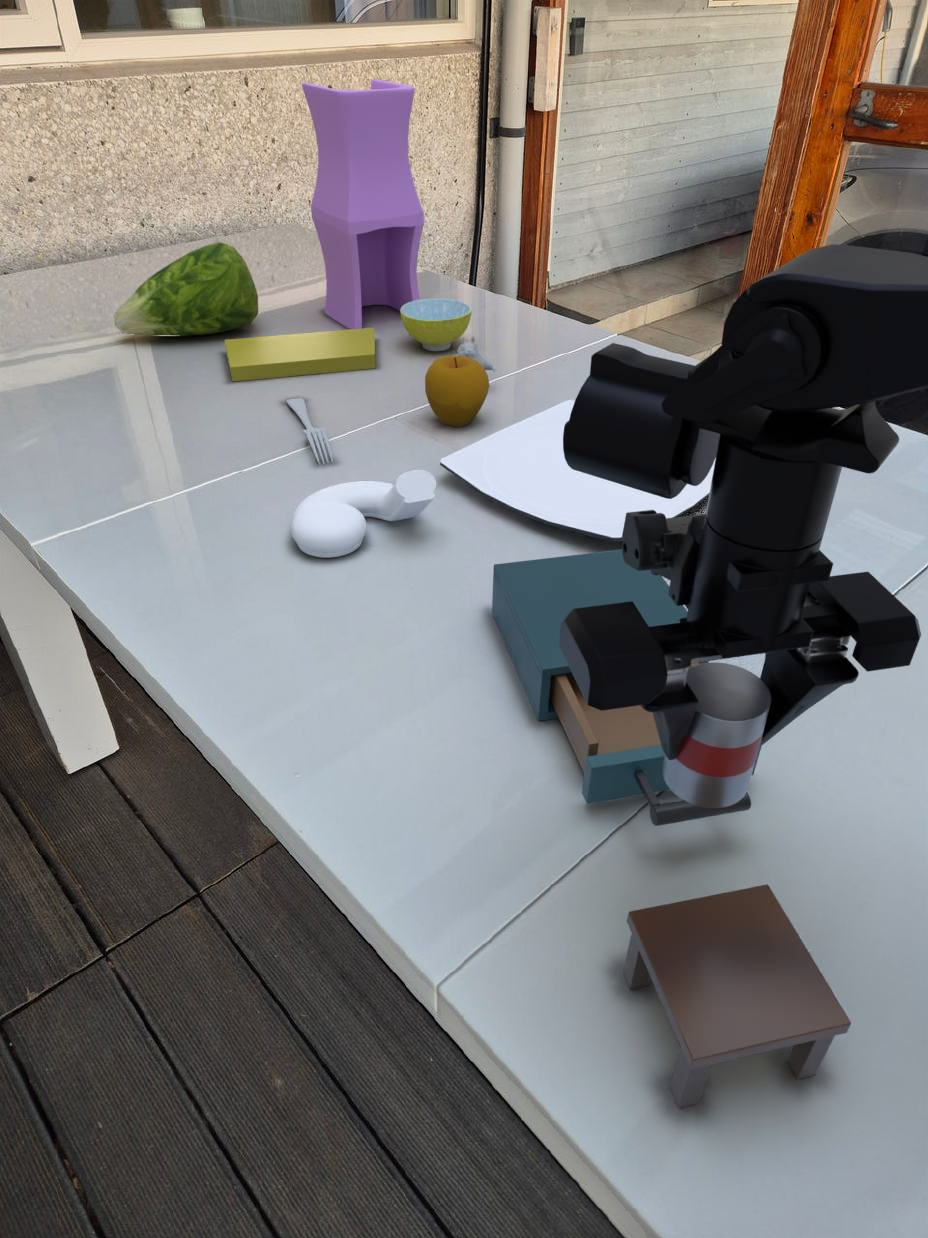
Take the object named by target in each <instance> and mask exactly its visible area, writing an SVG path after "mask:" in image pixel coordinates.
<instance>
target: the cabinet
mask: <svg viewBox="0 0 928 1238" xmlns="http://www.w3.org/2000/svg"><path fill="white" fill-rule="evenodd" d="M492 574H493V575H492V597H491V598H492V599H491V600H492V601H491V605H492V607H491V614H492V616H493V618H494V619H493V620H494V622H495V623H496V626H497V628H498V630H499V632H500V635H501V638H502V639H503V642H504V644H505V647H506V649H507V651H508V653H509V655H510V659H511V661H512V663H513V665H514V667H515V669H516V672H517V674H518V677H519V679H520V681H521V684H522V687H523V689H524V691H525V694H526V695H527V699H528V701H529V703H530V705H531V707H532V710H533V712H534V714H535V717H536V719H537V721H538V722H540V721H547V720H555V719H559V717H558V715H557V713H556V710H555V708H554V706H553V704H552V702H551V699H550V697H549V695H550V684H551V675H557V674H564V673H571V670H570V668H569V666H568V664H567V662H566V659H565V657H564V655H563V653H562V651H561V649H560V647H559V639H560V627H561V622H562V621H563V619H564V618H565V616H566V615H567V613H568V612H569V611H571V610H573V609H575V608H582V607H590V606H598V605H606V604H614V603H622V602H630V601H633V603H634V604H635V606H636V608H637V609H638V611H639V612H640V614H641V615H642V617H643V618H644V620H645V622H646V623H647V625H648V626H649V627H652V626H659V625H667V624H675V623H678V620H679V619H681V618H687V612H688V609H687V608H686V606H685V605H681V606H676V604H675V603H674V602H673V600H672V599H671V597H670V596H669V595H668V593H669V587H670V584H668V582H667V581H666V580H665V578H664V577H663V576H661V575H653V574H652V573H651V570H643V571H638V570H636V569H634V568H633V567H631V566H629V565H627V564H626V563H625V562H624V559H623V555H622V549H615V550H614V549H613V550H607V551H606V550H605V551H597V552H588V553H579V554H572V555H571V554H570V555H563V556H555V557H544V558H539V559H538V558H537V559H529V560H519V561H512V562H504V563H503V562H502V563H494V564H493V573H492ZM703 663H710V661H706V662H699V664H703Z"/></svg>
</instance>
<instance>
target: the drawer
mask: <svg viewBox="0 0 928 1238" xmlns="http://www.w3.org/2000/svg"><path fill="white" fill-rule="evenodd" d="M695 665H699V663H692V664H691V666H690V668H691V667H693V666H695ZM549 697H550V699H551V702H552V704H553V706H554V708H555V710H556V713H557V715H558V717H559V718H558V720H559V721H560V724H561V726H562V728H563V730H564V732H565V735H566V736H567V739H568V742H569V744H570V745H571V749H572V750H573V752H574V755H575V756H576V759H577V761H578V763H579V765H580V767H581V770H582V771H583V782H582V789H581V794H582V796H583V799H584V800H585V803H586V804H587V805H589V804H590V805H591V804H595V803H601V802H606V801H613V800H619V799H624V798H630V797H635V796H641V795H642V796H644V798H645V800H646V802H647V804H648V806H649V818H650V820H651V824H652V825H653V826H654V827H659V826H666V825H670V824H676V823H683V822H688V821H694V820H697V819H704V818H710V817H715V816H716V817H717V816H721V815H727V814H732V813H738V812H745V811H749V810H750V809H751V806H752V800H751V797H750V794H749V792H748V791H747V792H746V794H745V796H744V797H743V798H742V799H741V800H740V801H738V802H737V803H735V804H733V805H730V806H727V807H722V808H706V807H701V806H697V805H694V804H691V803H689V802H687V801H685V800H683V799H681V800H677V801H671V802H670V801H669V802H664V803H661V802H660V800H659V798H658V796H657V795H656V793H660V792H665V791H671V789H670V788H669V787H668V786H667V784H666V782H665V780H664V777H663V772H662V769H663V762H664V757H665V753H664V751H663V749H662V745H661V742H660V738H659V734H658V731H657V727H656V723H655V720H654V716H653V712H648V711H646V710H644V709H643V708H642V707H641V706H640V705H637V706H631V707H624V708H617V709H610V710H603V711H601V710H598V709H596V708H594V707H591V706H589V705H587V703H586V701H585V699H584V696H583V694H582V692H581V690H580V688H579V686H578V684H577V682H576V680H575V678H574V676H573V674H572V672H571V673H564V674H557V675H551V684H550V695H549ZM762 747H763V745H762V746H760V747H759V751H758V754H757V758H756V761H755V764H754V768H753V772H752V775H751V777H753V776H754V775H755V772H756V771H755V770H756V767H757V764H758V761H759V757H760V755H761V750H762Z"/></svg>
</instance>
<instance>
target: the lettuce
mask: <svg viewBox="0 0 928 1238" xmlns="http://www.w3.org/2000/svg"><path fill="white" fill-rule="evenodd" d="M258 315H259V296H258V291H257V288H256V285H255V282H254V279H253V276H252V274H251V271H250V269H249V267H248V264H247V262H246V261H245V259H244V257H243V256H242V255H241V254H240V253H239V251H238V250H237V249H236V247H235V246H233V245H232V244H229V243H225V242H222V241H217V242H213V243H211V244H208V245H204V246H201V247H199V248H196V249H194V250H192V251H189V252H187V253H186V254H184V255H182V256H180V257H178V258H177V259H175V260H174V261H173V262H171V263H169V264H167V265H166V266H164V267H162V268H160V270H158V271H156V272H155V273H153V274H152V275H151V276H150V277H147V279H146V280H144V282H143V283H141V285H139V287H138V288H137V289H136V290H135V291H134V293H132V294H131V295H130V296H129V297H128V298H127V299H126V300H125V301H124V302H123V303H122V304H121V305H120V306H119V307H118V308H117V310H116V311H115V313H114V314H113V319H114V320H113V321H114V326H115V327H116V328H117V329H118V330H119V331H120V333H122V334H126V335H129V334H134V335H133V336H151V335H180V336H159V338H160V337H165V338H175V337H176V338H177V337H191V336H201V335H205V336H206V335H214V334H219V333H224V332H229V331H233V330H237V329H239V328H242V327H245V326H249V325H251V324H252V323H253V321H254V320H255V319H256V317H258Z"/></svg>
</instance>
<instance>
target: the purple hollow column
mask: <svg viewBox="0 0 928 1238" xmlns="http://www.w3.org/2000/svg"><path fill="white" fill-rule="evenodd" d="M301 87H302V91H303V94H304V98H305V100H306V103H307V106H308V109H309V113H310V116H311V120H312V123H313V128H314V133H315V138H316V139H315V140H316V145H317V150H318V151H317V158H318V159H317V172H316V173H317V174H316V181H315V186H314V191H313V195H312V199H311V204H310V212H311V219H312V222H313V225H314V228H315V231H316V235H317V238H318V241H319V245H320V248H321V252H322V257H323V262H324V268H325V269H324V270H325V280H326V281H325V283H326V284H325V285H326V288H325V289H326V292H325V304H324V314H325V315H326V316H328V317H329V318H331V319H332V320H334V321H335V322H337V323H339V324H340V325H341V326H344V327H345V328H346V329H347V330H349V329H361V328H363V315H362V314H363V313H362V307H366V306H367V307H368V306H373V305H374V306H376V305H378V306H389V307H392V308H394V309H395V310H398V311H399V312H400V309H401V307H402V306H403V305H405V304H406V303H409V302H412V301H415V300H421V298H420V292H419V286H418V276H417V275H418V256H419V250H420V244H421V239H422V235H423V230H424V226H425V213H424V210H423V207H422V204H421V202H420V199H419V196H418V193H417V190H416V187H415V183H414V178H413V175H412V170H411V164H410V163H411V162H410V157H409V133H410V122H411V115H412V114H411V113H412V108H413V102H414V96H415V89H416V87H414V86H412V85H408V84H403V83H398V82H392V81H390V80H389V81H387V80H384V79H371V81H370V89H359V90H357V89H356V90H355V89H352V90H351V89H350V90H348V89H336V88H332V87H326V86H323V85H318V84H314V83H310V82H305V83H304V82H303V83H301Z"/></svg>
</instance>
